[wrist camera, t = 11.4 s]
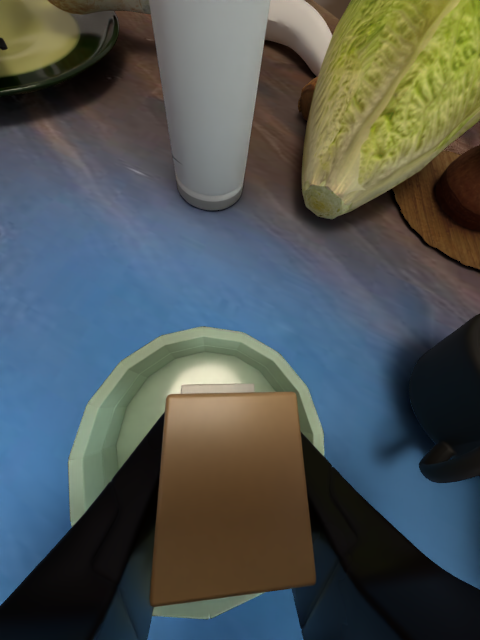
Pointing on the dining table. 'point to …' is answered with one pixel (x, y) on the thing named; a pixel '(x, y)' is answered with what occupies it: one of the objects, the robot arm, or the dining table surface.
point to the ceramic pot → (446, 204)
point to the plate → (49, 44)
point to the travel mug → (209, 91)
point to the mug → (450, 404)
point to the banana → (299, 30)
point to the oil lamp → (101, 6)
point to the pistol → (3, 44)
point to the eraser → (230, 496)
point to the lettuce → (389, 98)
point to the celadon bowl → (149, 404)
